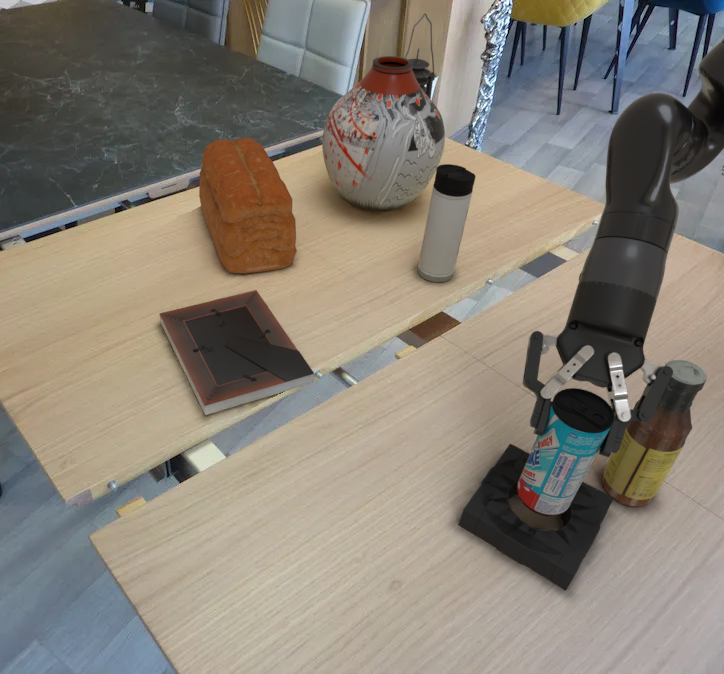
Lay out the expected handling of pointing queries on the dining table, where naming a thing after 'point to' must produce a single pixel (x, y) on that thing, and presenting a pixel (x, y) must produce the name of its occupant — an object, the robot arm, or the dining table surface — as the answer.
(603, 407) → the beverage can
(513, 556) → the pad
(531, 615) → the dining table surface
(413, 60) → the lantern
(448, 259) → the travel mug
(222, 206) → the bread
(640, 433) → the sauce bottle
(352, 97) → the vase
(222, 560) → the dining table surface
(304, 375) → the picture frame
